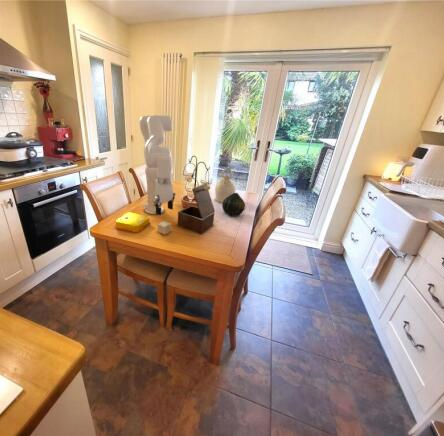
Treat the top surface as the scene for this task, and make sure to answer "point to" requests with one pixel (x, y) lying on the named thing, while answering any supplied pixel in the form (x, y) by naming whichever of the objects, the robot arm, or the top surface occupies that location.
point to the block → (163, 227)
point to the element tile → (132, 222)
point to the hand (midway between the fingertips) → (164, 211)
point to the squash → (233, 204)
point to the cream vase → (224, 187)
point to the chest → (194, 220)
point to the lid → (203, 200)
